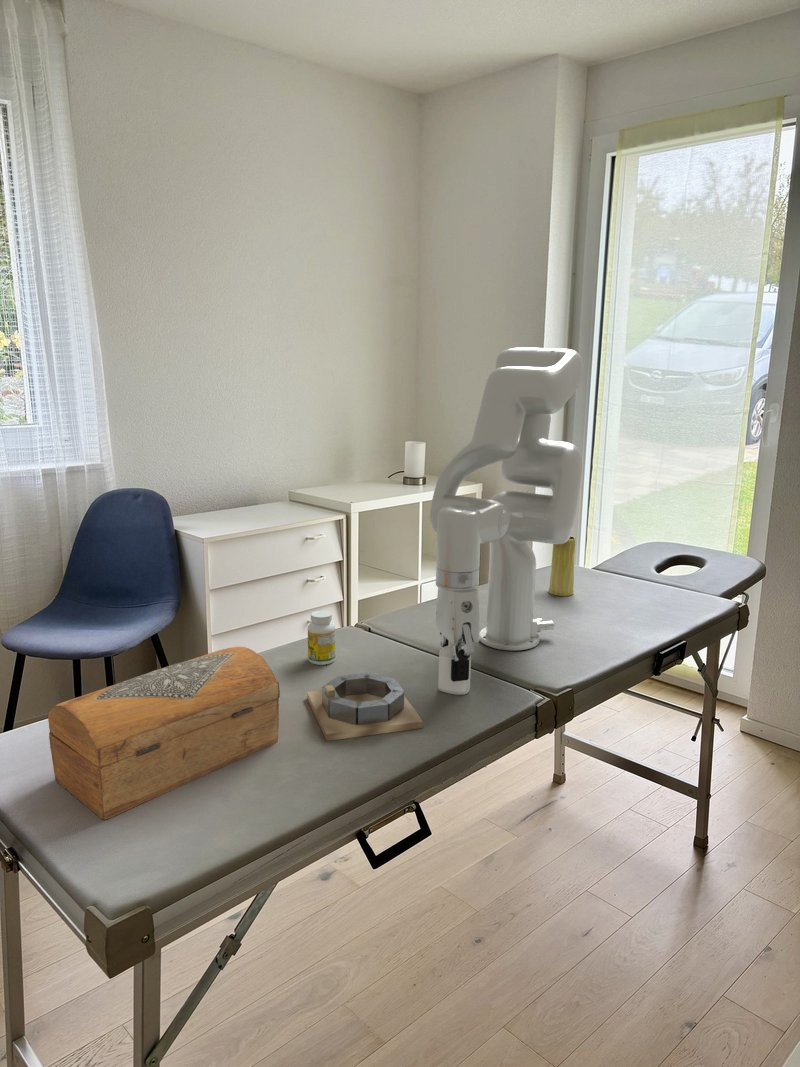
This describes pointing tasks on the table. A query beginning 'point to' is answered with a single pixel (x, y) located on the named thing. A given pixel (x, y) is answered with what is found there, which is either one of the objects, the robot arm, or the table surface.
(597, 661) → the table surface
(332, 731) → the square wooden board
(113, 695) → the wooden box
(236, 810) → the table surface
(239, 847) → the table surface
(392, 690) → the gray octagonal ring
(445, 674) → the eye dropper bottle
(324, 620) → the supplement bottle
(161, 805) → the table surface
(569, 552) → the vase
